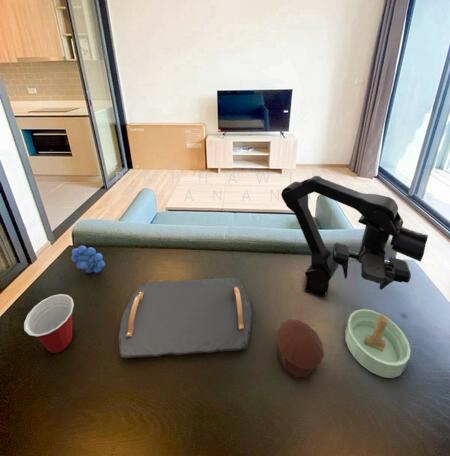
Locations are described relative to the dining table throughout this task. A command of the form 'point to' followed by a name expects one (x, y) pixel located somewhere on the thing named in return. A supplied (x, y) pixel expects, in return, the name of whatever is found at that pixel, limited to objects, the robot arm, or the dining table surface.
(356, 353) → the bowl
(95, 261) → the grapes
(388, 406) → the dining table surface
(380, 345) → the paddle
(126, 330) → the serving tray
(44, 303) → the plastic cup
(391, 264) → the robot arm
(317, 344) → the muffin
